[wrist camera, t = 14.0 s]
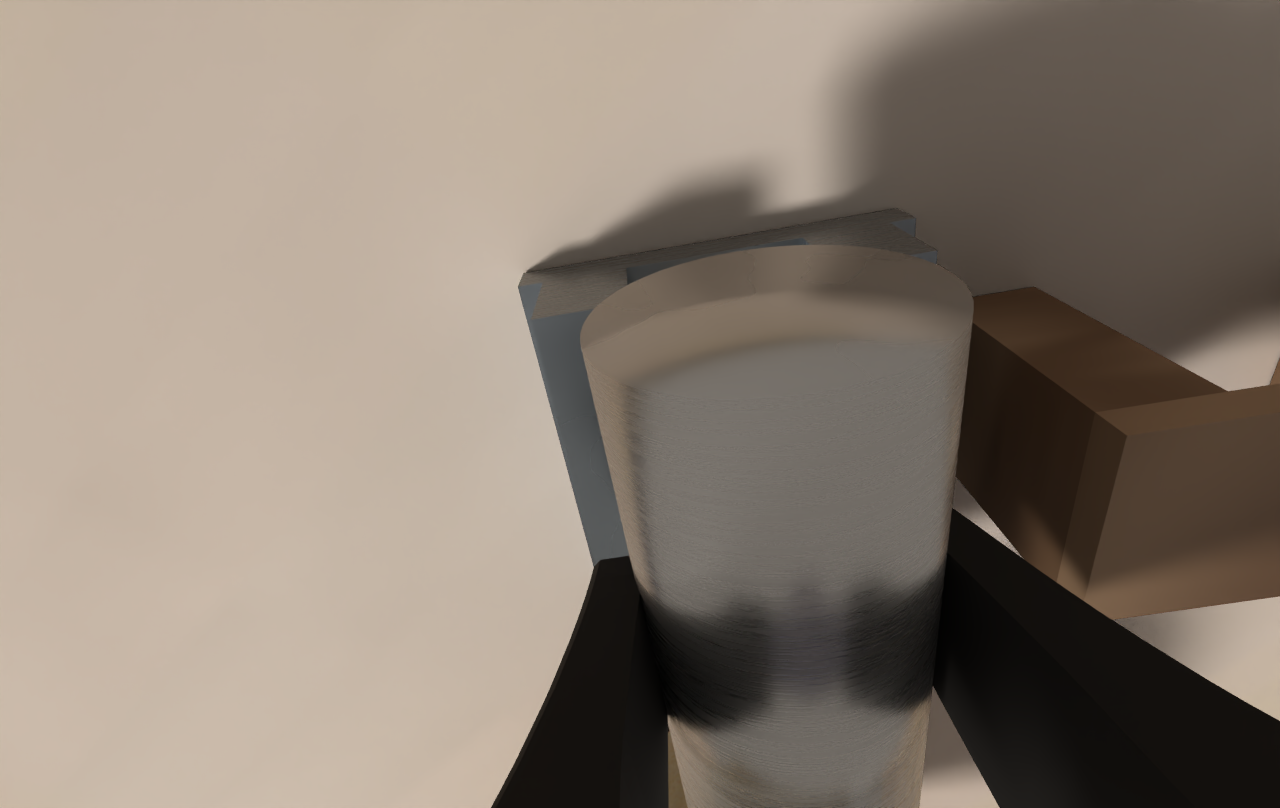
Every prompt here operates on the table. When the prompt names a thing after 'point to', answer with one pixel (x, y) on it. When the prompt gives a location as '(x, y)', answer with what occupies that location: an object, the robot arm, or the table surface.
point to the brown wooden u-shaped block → (1118, 462)
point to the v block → (577, 289)
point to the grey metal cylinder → (788, 509)
